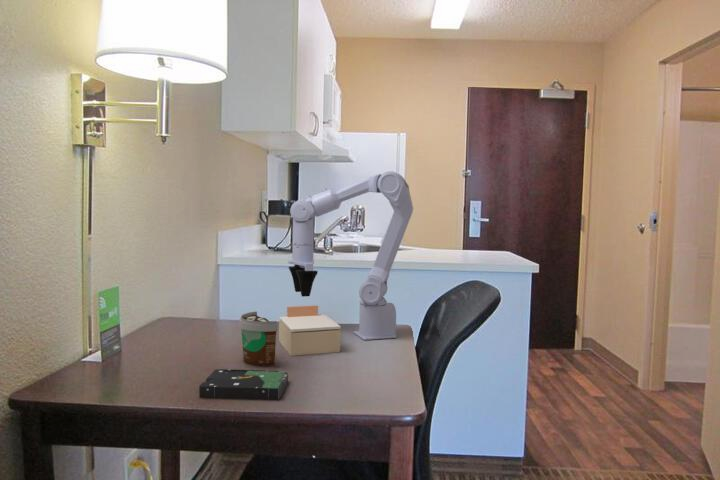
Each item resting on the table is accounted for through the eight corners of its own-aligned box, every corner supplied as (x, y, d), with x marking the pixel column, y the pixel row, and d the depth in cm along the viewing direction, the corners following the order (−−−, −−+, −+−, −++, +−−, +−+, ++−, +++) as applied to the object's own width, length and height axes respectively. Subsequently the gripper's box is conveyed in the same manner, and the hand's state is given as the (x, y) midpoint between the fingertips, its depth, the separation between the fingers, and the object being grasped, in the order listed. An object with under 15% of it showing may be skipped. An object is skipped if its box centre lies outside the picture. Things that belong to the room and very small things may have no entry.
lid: (324, 316, 141) (324, 304, 141) (340, 328, 128) (340, 316, 128) (279, 319, 137) (279, 307, 137) (291, 332, 124) (291, 318, 124)
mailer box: (323, 337, 141) (324, 317, 141) (340, 351, 128) (340, 330, 128) (278, 340, 137) (279, 320, 137) (290, 355, 124) (291, 333, 124)
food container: (230, 356, 123) (230, 313, 122) (255, 352, 126) (255, 310, 125) (250, 371, 112) (250, 324, 112) (277, 367, 116) (277, 321, 115)
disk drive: (198, 401, 97) (280, 402, 97) (198, 386, 97) (280, 387, 97) (214, 382, 107) (288, 383, 107) (214, 368, 107) (288, 369, 107)
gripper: (283, 242, 151) (282, 290, 152) (294, 246, 138) (294, 299, 139) (307, 242, 154) (306, 289, 155) (321, 246, 140) (320, 298, 141)
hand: (302, 293), depth 147 cm, fingers open, 7 cm apart
